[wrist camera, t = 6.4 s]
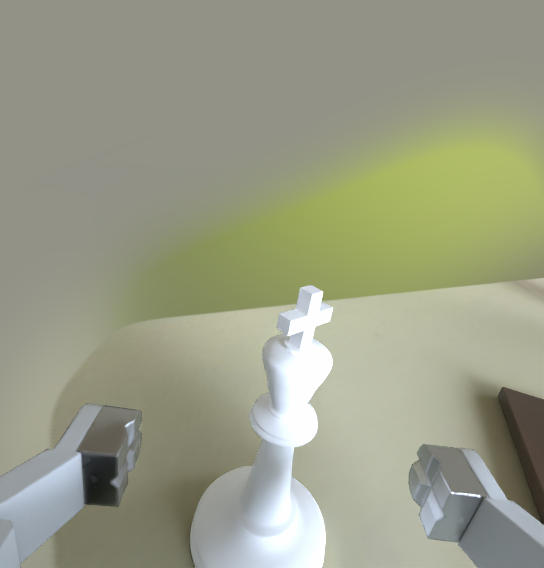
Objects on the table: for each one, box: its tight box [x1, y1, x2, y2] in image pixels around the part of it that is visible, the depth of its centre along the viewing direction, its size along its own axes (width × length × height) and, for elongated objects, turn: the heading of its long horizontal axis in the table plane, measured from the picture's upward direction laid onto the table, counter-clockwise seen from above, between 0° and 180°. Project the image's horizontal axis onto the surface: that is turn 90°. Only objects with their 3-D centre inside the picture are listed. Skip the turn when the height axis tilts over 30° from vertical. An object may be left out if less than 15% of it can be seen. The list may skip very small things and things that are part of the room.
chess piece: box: [190, 285, 333, 568], centre depth 12 cm, size 5×5×10 cm
